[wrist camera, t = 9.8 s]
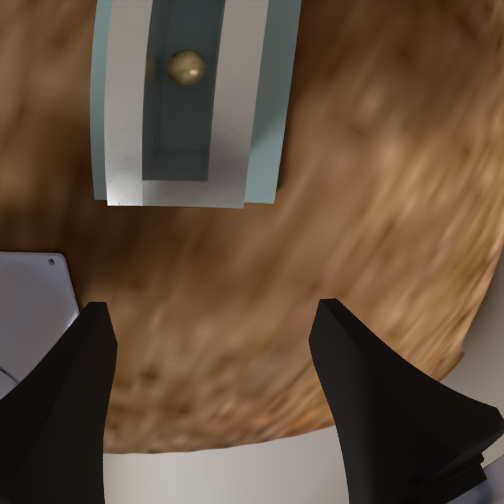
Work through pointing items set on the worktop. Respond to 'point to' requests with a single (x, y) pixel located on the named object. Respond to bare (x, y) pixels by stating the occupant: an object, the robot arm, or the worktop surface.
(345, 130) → the worktop surface
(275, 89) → the board
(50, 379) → the robot arm
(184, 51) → the locating pin
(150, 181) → the block
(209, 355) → the worktop surface
